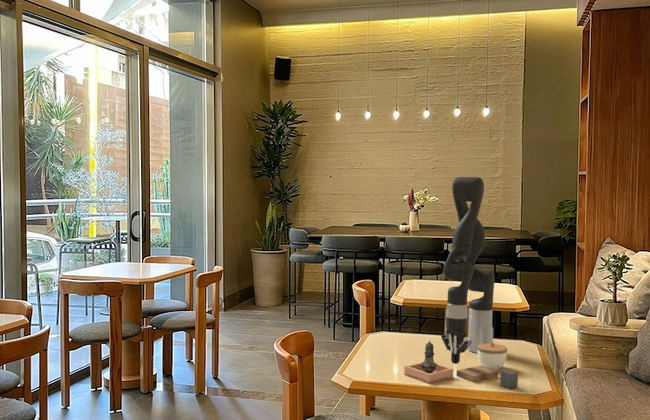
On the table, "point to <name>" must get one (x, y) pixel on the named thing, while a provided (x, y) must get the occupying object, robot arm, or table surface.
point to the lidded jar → (492, 355)
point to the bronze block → (477, 373)
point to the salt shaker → (428, 359)
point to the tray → (438, 375)
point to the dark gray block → (509, 379)
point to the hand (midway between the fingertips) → (455, 363)
